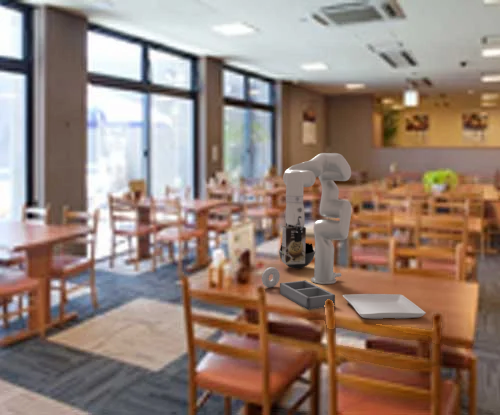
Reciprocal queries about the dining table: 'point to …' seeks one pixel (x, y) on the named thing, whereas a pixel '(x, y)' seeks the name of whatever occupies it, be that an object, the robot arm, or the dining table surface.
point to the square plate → (384, 306)
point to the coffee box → (293, 246)
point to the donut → (267, 273)
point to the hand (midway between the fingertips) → (293, 239)
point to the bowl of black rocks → (308, 256)
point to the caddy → (306, 294)
